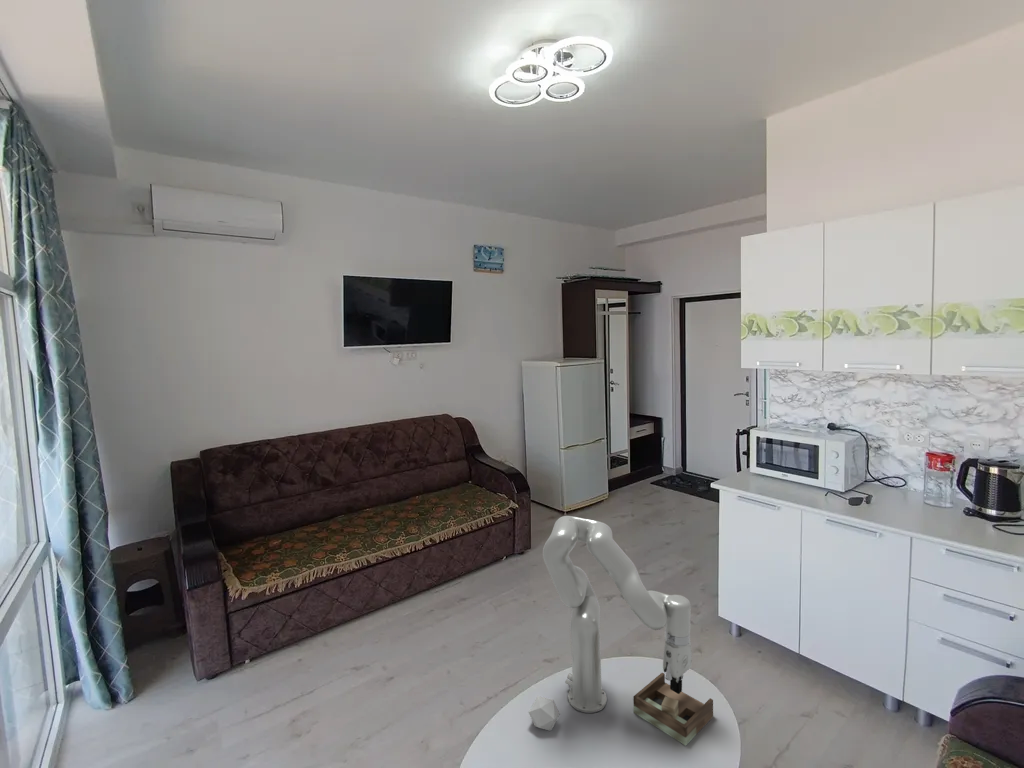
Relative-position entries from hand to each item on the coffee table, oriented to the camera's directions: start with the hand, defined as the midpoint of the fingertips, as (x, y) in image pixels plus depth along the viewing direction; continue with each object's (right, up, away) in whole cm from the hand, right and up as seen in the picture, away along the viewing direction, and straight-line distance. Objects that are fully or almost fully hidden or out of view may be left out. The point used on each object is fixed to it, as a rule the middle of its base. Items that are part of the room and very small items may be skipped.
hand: (675, 690), depth 157 cm
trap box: (-2, -6, -2) cm, 7 cm away
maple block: (-4, -4, -5) cm, 8 cm away
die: (-42, -8, -4) cm, 43 cm away
